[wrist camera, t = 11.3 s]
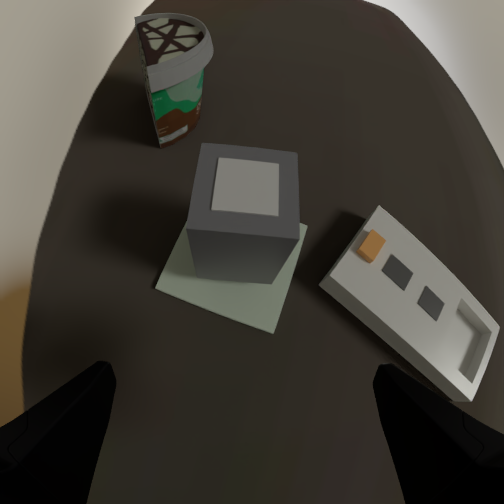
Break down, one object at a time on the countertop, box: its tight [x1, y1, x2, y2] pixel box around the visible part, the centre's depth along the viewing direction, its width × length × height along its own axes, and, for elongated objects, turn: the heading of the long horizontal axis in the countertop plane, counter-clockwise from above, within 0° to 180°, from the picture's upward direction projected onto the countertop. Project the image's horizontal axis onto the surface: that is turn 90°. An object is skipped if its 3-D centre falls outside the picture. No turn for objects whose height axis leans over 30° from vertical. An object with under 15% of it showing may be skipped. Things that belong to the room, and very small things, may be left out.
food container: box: [135, 13, 213, 149], centre depth 23 cm, size 12×6×10 cm, turn 21°
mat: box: [155, 222, 307, 334], centre depth 22 cm, size 9×9×1 cm
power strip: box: [319, 206, 500, 402], centre depth 21 cm, size 18×8×3 cm, turn 50°
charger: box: [186, 143, 300, 284], centre depth 18 cm, size 5×5×9 cm
